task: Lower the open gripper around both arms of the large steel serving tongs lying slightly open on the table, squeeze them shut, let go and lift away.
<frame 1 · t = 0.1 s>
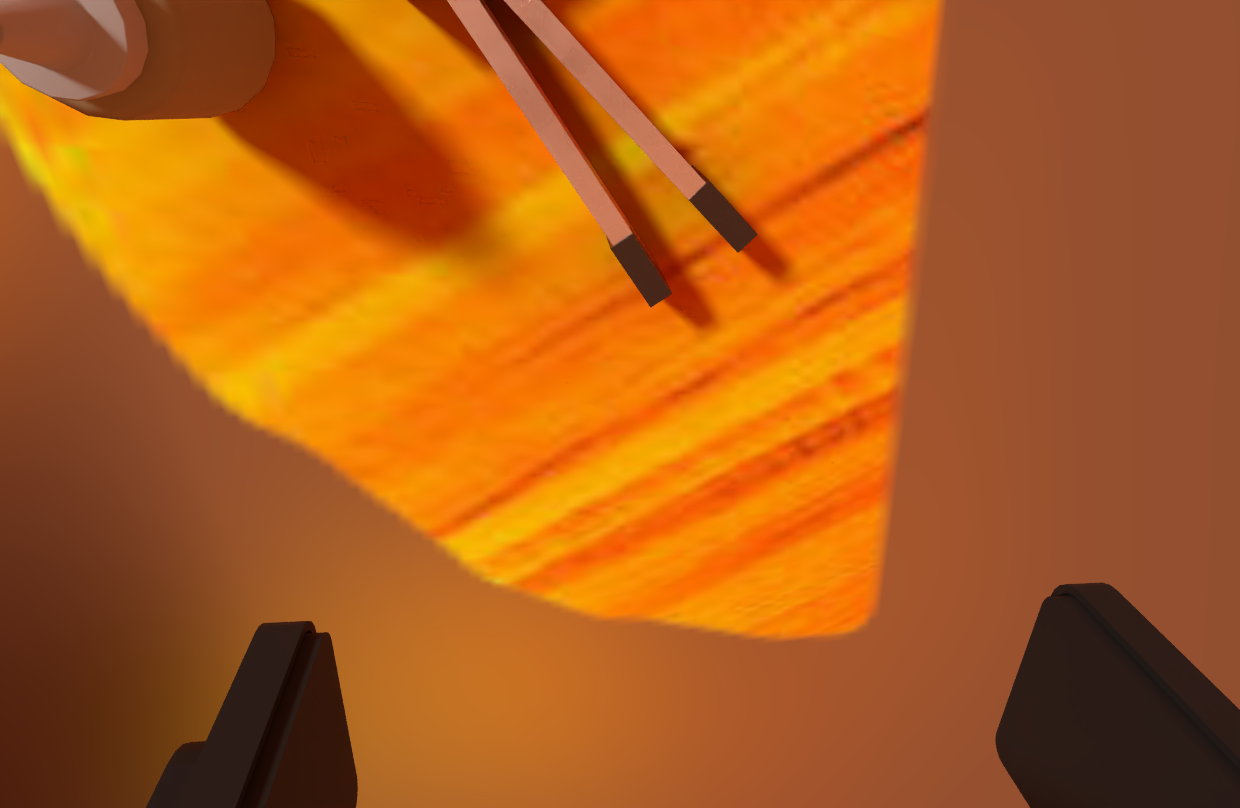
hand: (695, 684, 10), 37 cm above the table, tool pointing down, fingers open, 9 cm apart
squeeze bottle: (214, 23, 38), on the table
tong arm: (620, 104, 39), point 3 cm above the table, hinge at 11.0°
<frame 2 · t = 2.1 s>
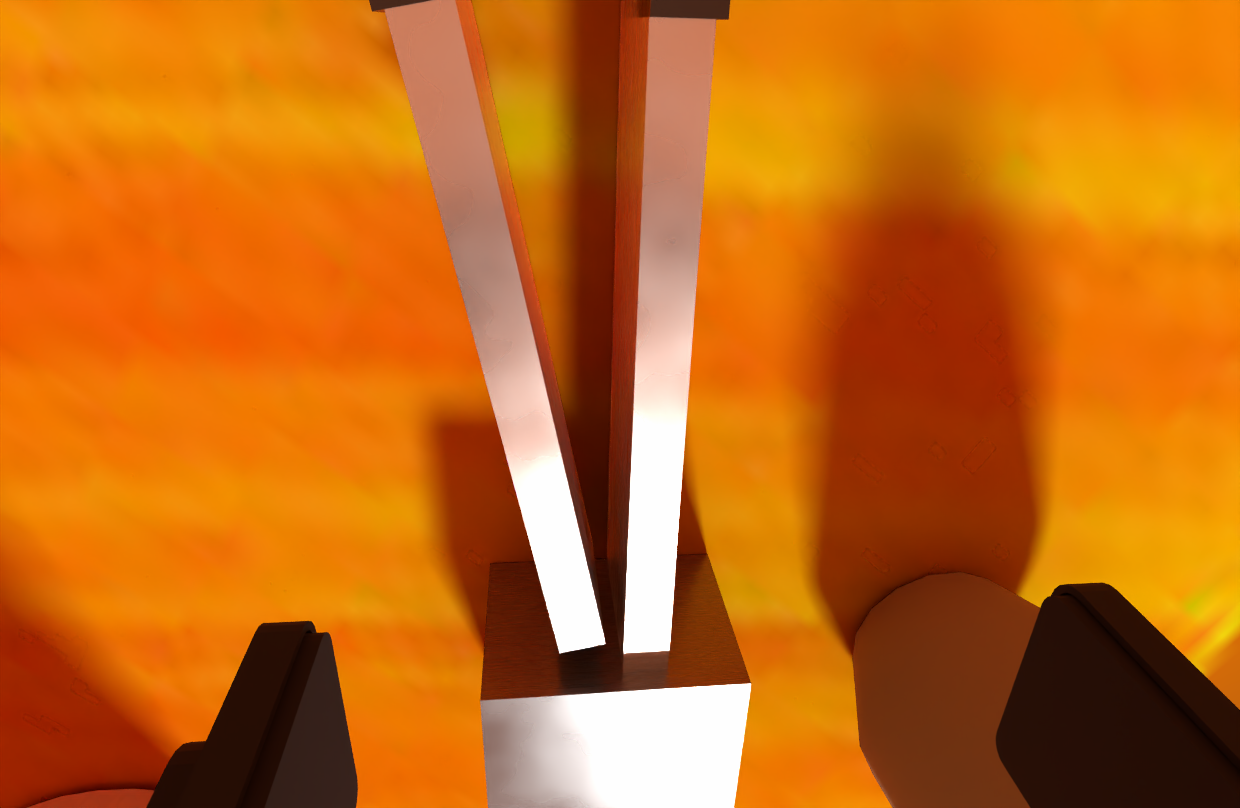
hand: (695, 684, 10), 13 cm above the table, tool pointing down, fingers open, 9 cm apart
squeeze bottle: (926, 629, 28), on the table
tong base: (599, 618, 26), on the table
tong arm: (495, 274, 17), point 3 cm above the table, hinge at 11.0°
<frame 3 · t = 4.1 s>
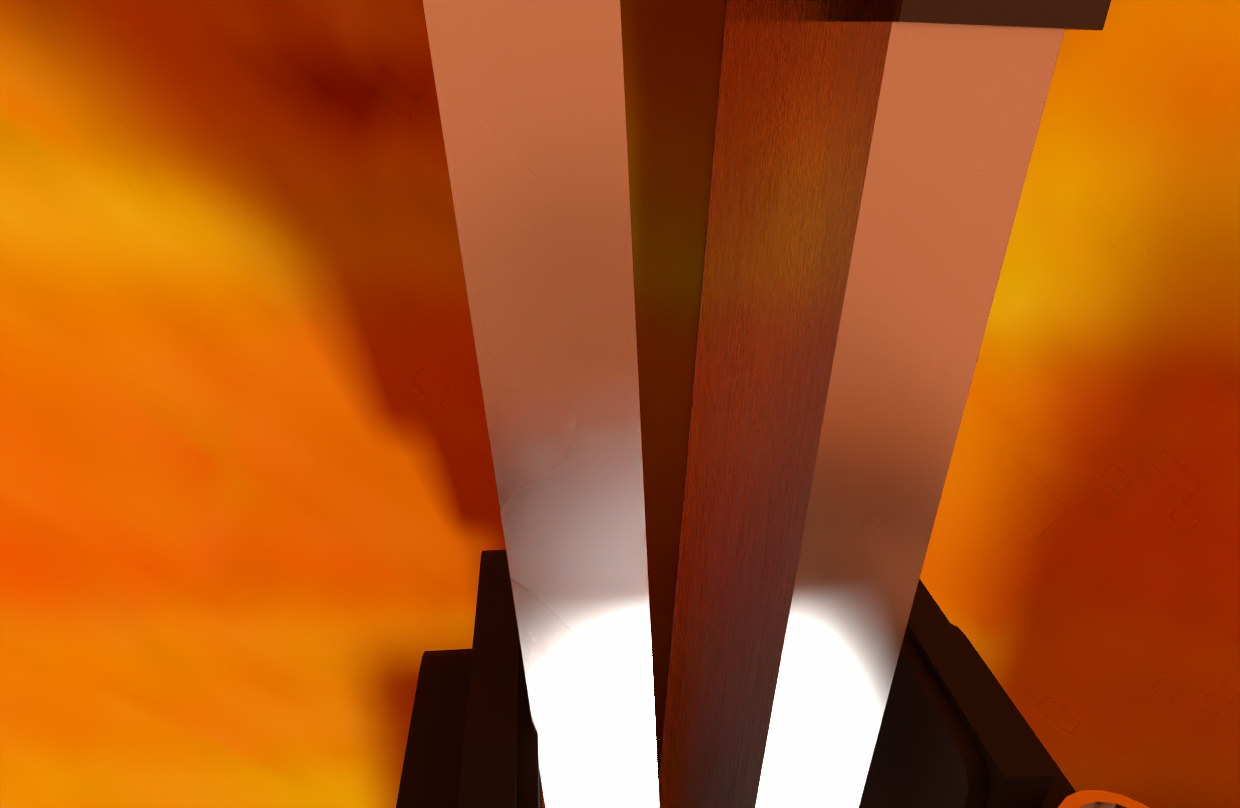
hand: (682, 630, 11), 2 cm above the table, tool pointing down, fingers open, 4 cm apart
tong arm: (565, 498, 9), point 3 cm above the table, hinge at 5.1°, touching gripper
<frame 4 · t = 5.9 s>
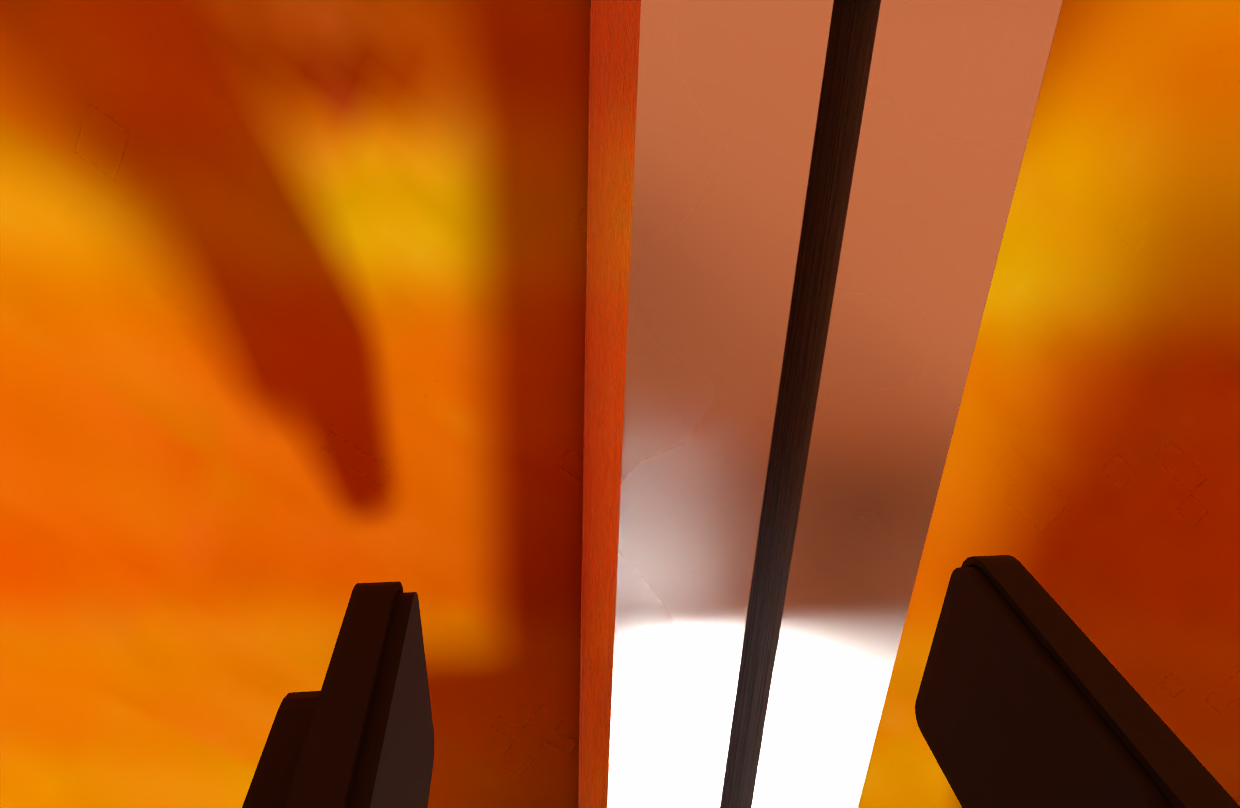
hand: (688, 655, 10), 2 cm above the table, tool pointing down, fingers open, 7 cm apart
tong arm: (639, 481, 9), point 3 cm above the table, hinge at -0.4°
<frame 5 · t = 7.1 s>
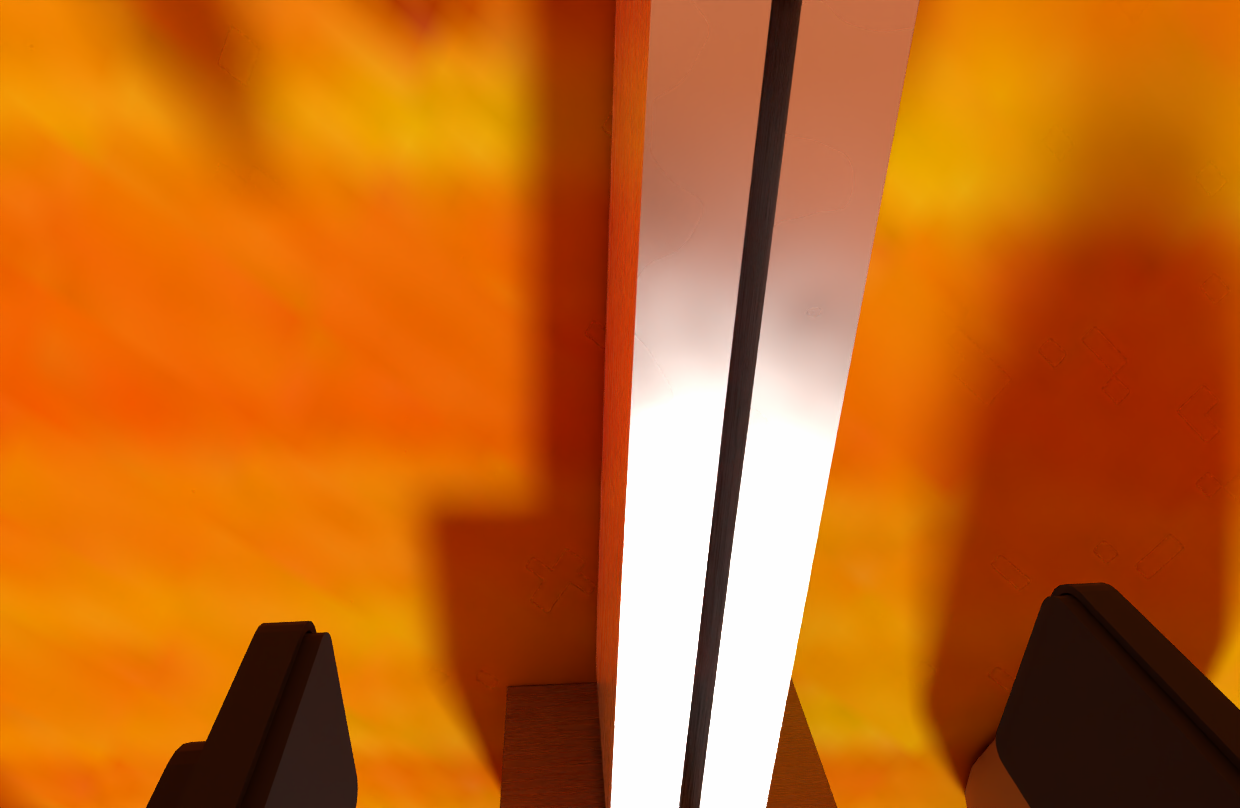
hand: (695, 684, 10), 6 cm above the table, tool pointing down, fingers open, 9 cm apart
squeeze bottle: (1059, 756, 22), on the table
tong base: (646, 748, 20), on the table
tong arm: (650, 321, 11), point 3 cm above the table, hinge at -0.4°
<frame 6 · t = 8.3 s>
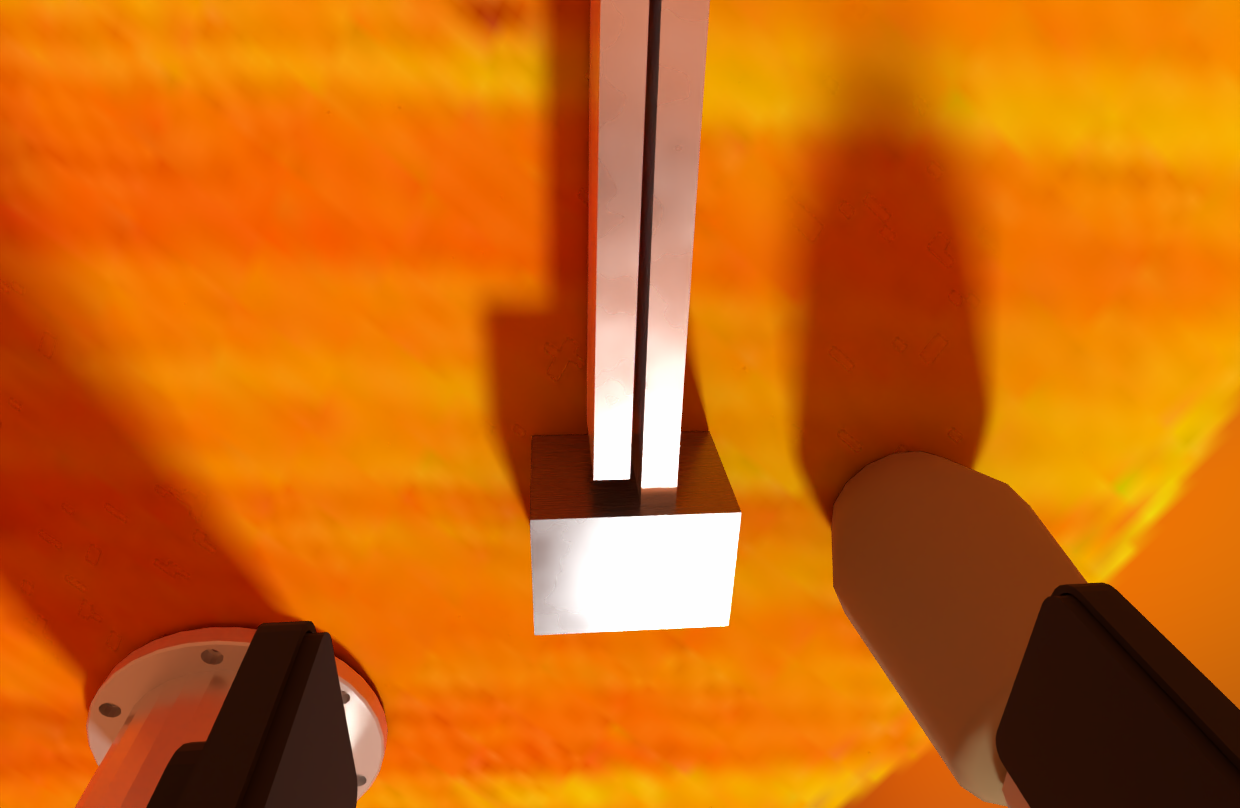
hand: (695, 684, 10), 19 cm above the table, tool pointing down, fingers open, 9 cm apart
squeeze bottle: (894, 504, 33), on the table
tong base: (620, 486, 31), on the table
tong arm: (609, 170, 23), point 3 cm above the table, hinge at -0.4°
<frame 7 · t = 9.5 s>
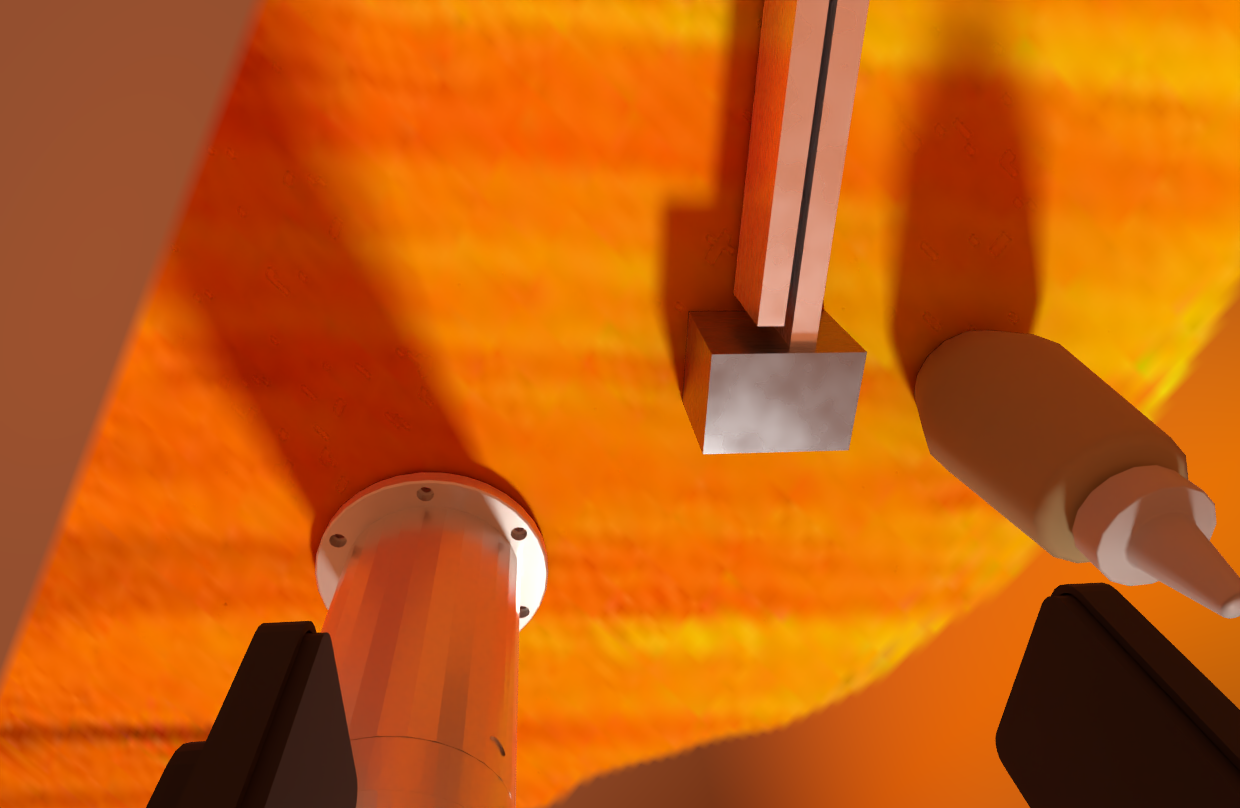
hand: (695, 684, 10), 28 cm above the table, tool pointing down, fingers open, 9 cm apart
squeeze bottle: (963, 377, 42), on the table
tong base: (752, 356, 39), on the table
tong arm: (781, 89, 31), point 3 cm above the table, hinge at -0.4°
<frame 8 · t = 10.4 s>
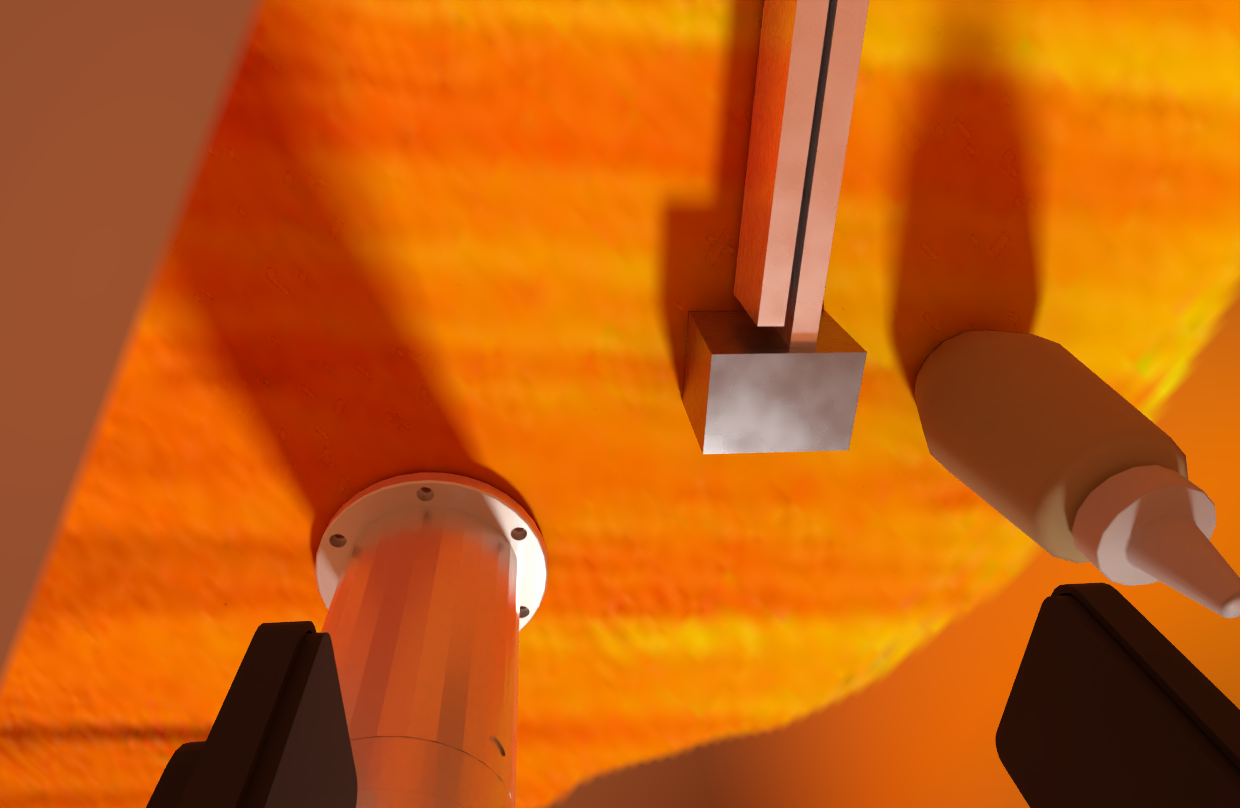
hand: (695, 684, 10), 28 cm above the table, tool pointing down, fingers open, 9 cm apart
squeeze bottle: (963, 377, 42), on the table
tong base: (752, 356, 39), on the table
tong arm: (781, 89, 31), point 3 cm above the table, hinge at -0.4°
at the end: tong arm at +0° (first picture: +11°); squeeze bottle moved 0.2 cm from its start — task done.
